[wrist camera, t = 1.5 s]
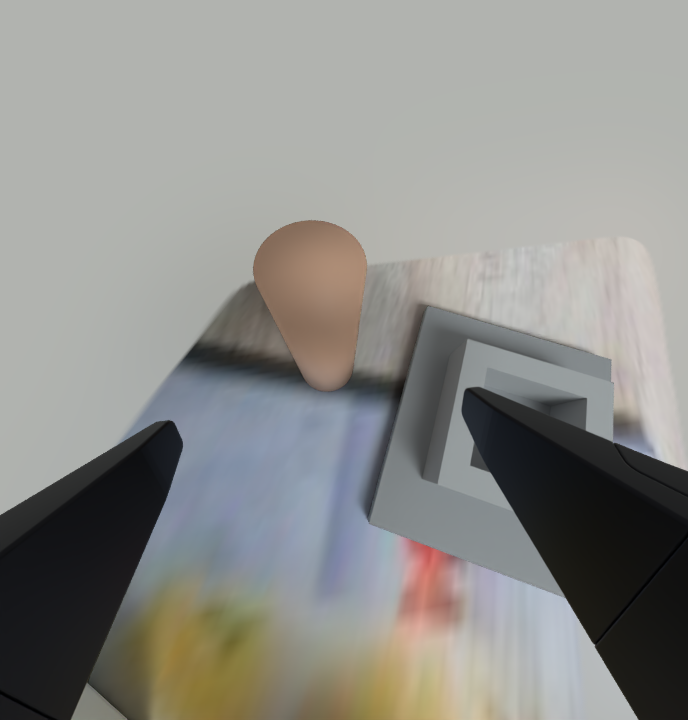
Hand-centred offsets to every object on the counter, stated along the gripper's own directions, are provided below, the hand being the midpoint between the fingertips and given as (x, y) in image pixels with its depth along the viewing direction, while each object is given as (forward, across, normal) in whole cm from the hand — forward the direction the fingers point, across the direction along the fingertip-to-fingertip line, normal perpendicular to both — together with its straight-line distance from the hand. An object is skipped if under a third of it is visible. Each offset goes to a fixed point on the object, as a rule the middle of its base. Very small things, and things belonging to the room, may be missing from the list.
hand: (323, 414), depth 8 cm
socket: (+7, -11, +9) cm, 16 cm away
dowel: (+12, 0, +5) cm, 13 cm away
